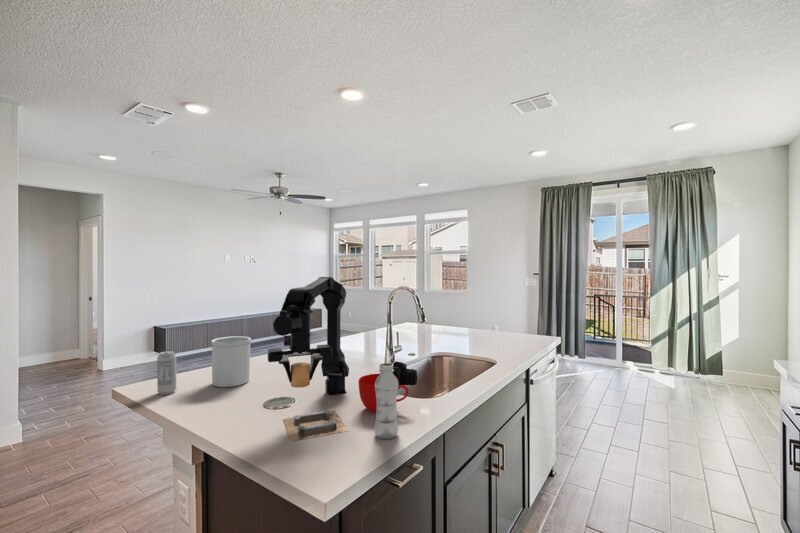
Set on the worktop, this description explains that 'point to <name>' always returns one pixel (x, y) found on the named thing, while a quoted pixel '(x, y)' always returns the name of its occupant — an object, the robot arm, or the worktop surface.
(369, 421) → the worktop surface
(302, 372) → the cap
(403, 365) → the film camera
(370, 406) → the ceramic cup
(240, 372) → the utensil holder
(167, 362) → the energy drink can
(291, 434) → the socket
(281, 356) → the robot arm
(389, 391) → the plastic bottle
